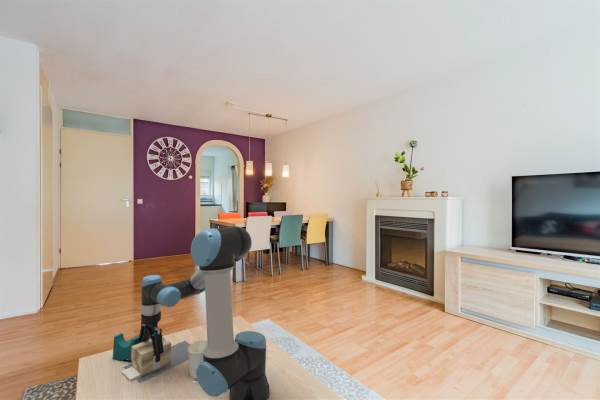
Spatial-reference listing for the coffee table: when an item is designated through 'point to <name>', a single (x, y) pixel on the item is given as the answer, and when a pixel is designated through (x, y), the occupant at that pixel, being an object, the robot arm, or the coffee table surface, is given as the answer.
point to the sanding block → (149, 356)
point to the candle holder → (195, 356)
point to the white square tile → (128, 371)
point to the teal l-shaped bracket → (123, 347)
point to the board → (177, 357)
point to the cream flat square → (133, 375)
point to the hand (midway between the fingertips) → (150, 363)
